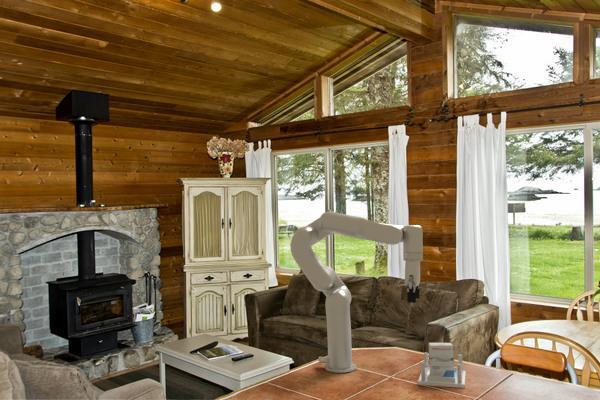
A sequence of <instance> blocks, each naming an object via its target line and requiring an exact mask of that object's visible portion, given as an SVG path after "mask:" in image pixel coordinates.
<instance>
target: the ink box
mask: <svg viewBox="0 0 600 400" xmlns="http://www.w3.org/2000/svg"><path fill="white" fill-rule="evenodd" d="M454 355H455V354H454V345H453V343H452V342H428V369H430V376H437V377H453V378H454V377H455V376H454V367H455V359H454V358H455V357H454Z"/></svg>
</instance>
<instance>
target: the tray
mask: <svg viewBox="0 0 600 400" xmlns="http://www.w3.org/2000/svg"><path fill="white" fill-rule="evenodd" d="M457 356H458V357H457V358H458V359H457V361H458V363H457V364H456V366H454V376H455V377H454V378H453V377H437V376H430V368H429V352H423V358H424V359H423V361H420V375H419V377H418V380H417V385H418V386H432V387H444V388H445V387H446V388H460V389H461V388H462V389H465V388H466V377H467V375H466V374H467V371H466V370H463V369H464V367H463V354H461V353H459V354H457Z"/></svg>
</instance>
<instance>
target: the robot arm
mask: <svg viewBox="0 0 600 400" xmlns="http://www.w3.org/2000/svg"><path fill="white" fill-rule="evenodd" d="M331 234H334V235H338V236H339V235H341V236H345V237H350V238H353V239H354V238H355V239H358V240H359V239H360V240H365V241H366V240H367V241H371V242H376V243H380V244H385V245H391V246H394V245H398V244H400V243H402V244H403V245H402V251H403V252H402V253H403V257H402V258H403V259H402V260H403V261H405V263H404V264H405V266H404V286H405V287H407V290H406V291H407V293H406V295H407V297H406V299H407V300H406V301H407V303H412V304H413V303H414V304H415V303H417V299H420V284H421V262H423V261H424V249H423V248H424V244H423V242H424V241H423V235H424V234H423V227H422V226H421V225H418V224H416V225H415V224H413V225H412V224H406V225H399V224H387V223H382V222H377V221H372V220H369V219H366V218H365V217H361V216H356V215H350V214H345V213H341V212H336V211H325V212H323V213H322V214H321V215H320V217H318V218H317V219H315V220H314V221H312V222H310V223H308V224H307V225H305V226H302V227H299V228H297V229H296V231H295V232H294V233H293V236H292V237H291V240H290V248H289V249H290V253H291V256H292V258H293V259H294V261H295V263H296V264H297V265H298V267H299V268H300V269H301V272H302V273H303V274H304V275H305V277H306V278H307V280H308V281H309V282H310V283H311V285H312V287H313V289H315V290H316V291H319V292H322V293H323V295H325V296H324V297H326V298H325V315H326V330H327V331H326V332H327V356H318V360H317V361H318V362H319V363H321V364H325V365H324V370H325V371H327V372H330V373H336V374H342V373H350V372H354V371H355V370H356V369H357V364H356V363H354V362H353V353H352V352H353V351H352V349H353V348H352V328H351V327H352V325H351V323H352V322H351V309H350V307H351V302H352V293H351V291H350V290H349V289H348V287H347V285H346V284H345V283H344V282H343V280H342V279H341V278H340V276H339V275H338V273H336V271H335V270H334V269H333V268H332V267H331V266H328V265H324V263H323V262H322V261H321V259H320V258H319V256H318V254H316V253H315V252H314V250H313V247H312V246H313V245H316V244H318V243H319V242H321V241H322V240H324V239H326V237H329V236H331Z"/></svg>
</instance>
